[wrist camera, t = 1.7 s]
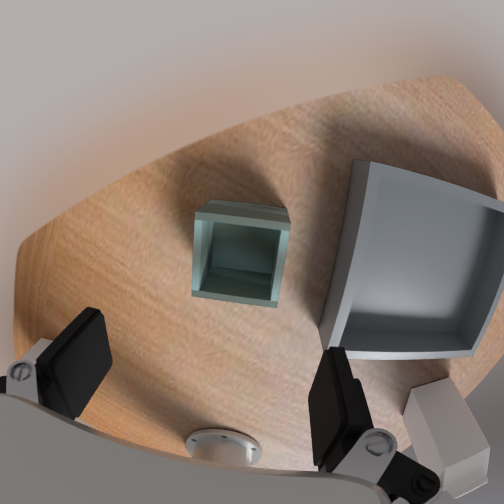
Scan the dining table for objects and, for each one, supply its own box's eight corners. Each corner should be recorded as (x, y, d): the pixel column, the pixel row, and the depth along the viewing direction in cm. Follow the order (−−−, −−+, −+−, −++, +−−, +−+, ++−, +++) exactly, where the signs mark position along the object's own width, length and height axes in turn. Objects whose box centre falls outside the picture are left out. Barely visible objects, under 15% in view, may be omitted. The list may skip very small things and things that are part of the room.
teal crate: (276, 277, 29) (276, 307, 23) (206, 268, 29) (191, 296, 23) (286, 208, 26) (290, 223, 21) (211, 199, 26) (195, 211, 21)
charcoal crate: (455, 334, 30) (472, 356, 25) (318, 328, 30) (324, 357, 26) (498, 202, 24) (525, 211, 19) (353, 159, 24) (370, 161, 20)
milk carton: (410, 387, 33) (454, 493, 15) (449, 375, 32) (500, 468, 14) (401, 416, 35) (433, 512, 17) (438, 405, 34) (477, 492, 17)
